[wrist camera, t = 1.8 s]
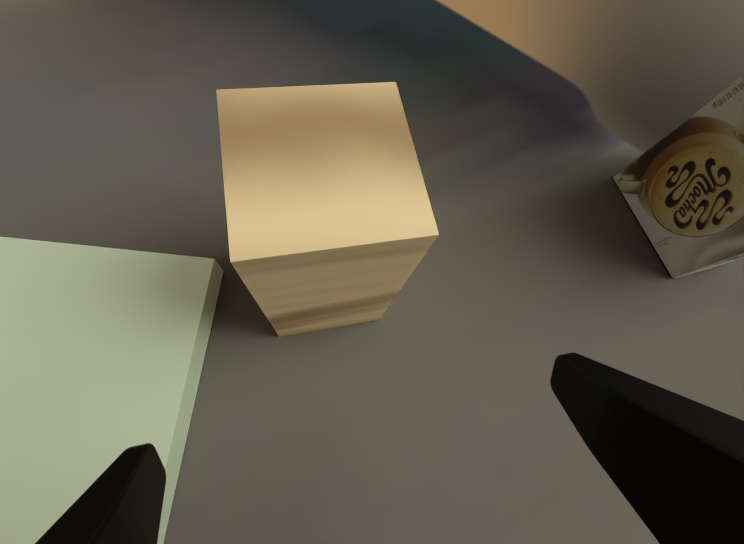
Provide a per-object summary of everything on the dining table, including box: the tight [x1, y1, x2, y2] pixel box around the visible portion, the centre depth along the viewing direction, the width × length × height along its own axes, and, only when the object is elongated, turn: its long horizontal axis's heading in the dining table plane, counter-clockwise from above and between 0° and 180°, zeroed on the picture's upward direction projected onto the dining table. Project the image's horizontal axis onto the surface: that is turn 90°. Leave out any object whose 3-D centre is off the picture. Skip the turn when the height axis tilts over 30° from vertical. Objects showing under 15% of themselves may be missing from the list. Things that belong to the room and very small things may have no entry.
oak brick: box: [217, 82, 439, 337], centre depth 17 cm, size 6×6×12 cm
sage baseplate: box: [0, 237, 223, 544], centre depth 18 cm, size 14×14×2 cm
